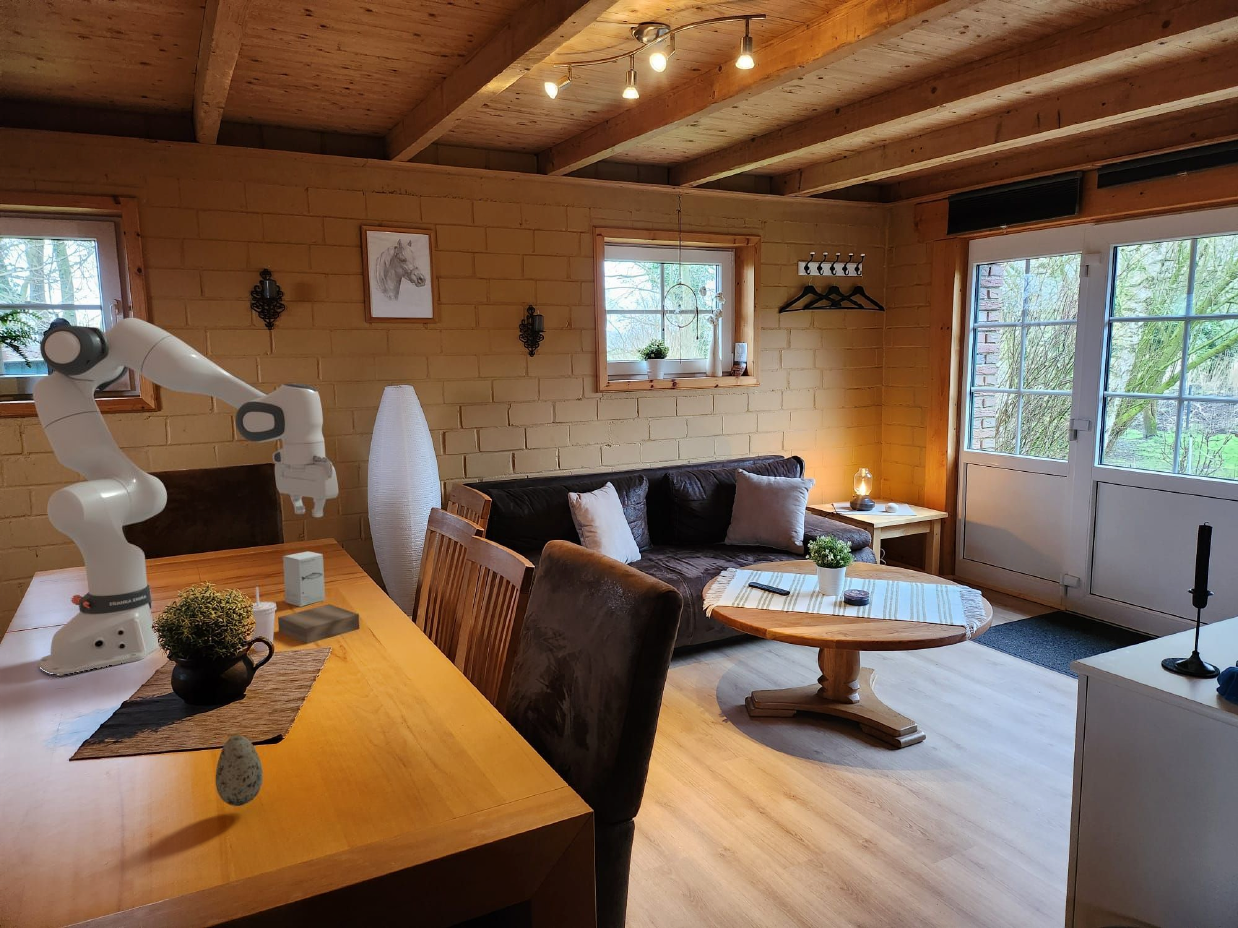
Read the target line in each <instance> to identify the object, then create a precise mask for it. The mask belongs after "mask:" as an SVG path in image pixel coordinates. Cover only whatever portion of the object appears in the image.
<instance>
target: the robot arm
mask: <svg viewBox="0 0 1238 928" xmlns="http://www.w3.org/2000/svg"><path fill="white" fill-rule="evenodd" d="M39 351H40V354H41V356H42V359H43V360H44V362H45V364H47V366H48V367H50V369H52V370H53V372H52V373H51V374H49V375H46V376H44V377H42V378H40V379H39V380H38V381H36V383H35V384H34V385H33V388H32V396H33V403H34V406H35V410H36V413H37V416H38V420H39V423H40V424H41V427H42V429H43V431H44V433H45V435H46V437H47V440H48V441H49V444H50V446H51V448H52V451H53V452H54V455H55V458H56V460H57V461H58V462H59V463H60V465H62V466H63V467H66V468H67V469H70V470H72V471H74V472H77V473H78V474H80V475H81V476H82V477H84V478H85V479H86V481H81V482H76V483H73V484H70V485H68V486H65V487H63V488H61V489H59V490H56V491H55V492H53V493H52V494H51V496H50V497H49V499H48V502H47V507H46V511H47V518H48V519H49V522H50V523H51V525H52V526H53V527H54V528H55V529H56V530H57V531H59V532H60V533H62V534H64V535H66V536H68V537H69V539H71V540H72V541H73V542H74V544H75V545H76V546H77V549H78V550H79V551H80V553H81V555H82V558H83V562H84V567H85V574H86V579H87V588H88V592H87V593H86V594H84V595H83V596H82V595H80V594H75V595H73V596H72V597H71V598H70V599H71V600H70V602H71V603H72V604H73V605H75V606H78V609H79V612H78V613H76V615H75V616H74V617H72V618H71V619H70V620H69V621H68V622H66V623H65V624H64V625H63V626H62V627H61V628H59V629H58V630H57V631H56V632H55V633H54V635H53V636H52V639H51V644H50V654H48V655H46V656H43V657H42V658H41V659H39V662H38V666H39V665H40V667H41V668H42V669H43V670H45V671H47V672H49V673H53V674H59V675H58V676H63V675H62V674H67V673H73V674H75V673H74V672H77V671H83V670H88V671H91V670H90V669H92V668H97V669H102V668H107V667H110V666H109V665H112V666H116V665H117V666H118V665H120V664H121V663H122V664H125V663H126V664H127V663H131V662H136V661H141V660H144V659H145V658H146V657H147V656H148V655H149V654H150V653H153V652H154V651H156V650H158V649H159V648H160V647H159V646H158V639H159V637H158V638H157V637H156V634H157V633H156V634H155V633H154V632H153V631H152V628H151V627H152V624H154V621H153V617H152V611H151V609H152V601H153V600H152V593H151V592H152V591H151V588H150V587H151V586H150V584H148V581H147V578H148V577H147V568H146V556H145V552H144V551H143V550H142V548H140V547H139V546H136V545H134V544H132V543H129V542H128V541H127V539H126V537H125V535H124V532H123V527H124V526H128V525H132V524H136V523H141V522H144V521H146V520H148V519H150V518H152V517H154V516H156V515H159V514H160V513H161V512H163V510H164V509H165V507H166V506H167V505H166V504H167V501H168V500H167V499H168V494H167V493H168V492H167V490H166V487H165V485H164V483H163V482H162V481H161V480H160V479H159V478H158V477H156V476H154V475H151V474H149V473H147V472H145V471H144V470H142V469H140V468H139V466H137V465H136V464H135V463H134V462H133V461H132V460H131V459H129V458H128V456H127V455H126V454H125V453H124V452H123V451H122V450H121V448H120V446H118V444H117V442H116V441H115V439H114V437H113V435H112V433H111V432H110V429H109V427H108V425H107V423H106V421H105V419H104V418H103V416H102V413H101V410H100V409H99V406H98V405H97V403H96V400H95V396H94V394H95V393H101V392H103V391H105V390H106V389H108V388H109V387H110V386H111V385H113V384H116V383H117V382H119V381H121V380H122V379H123V378H124V377H125V376H126V375H127V373H128V371H129V370H130V369H131V370H133V371H134V372H136V373H138V374H139V375H141V376H142V377H144V378H146V379H147V380H149V381H150V382H152V383H154V384H156V385H158V386H159V387H160V386H161V387H162V388H163V387H164V388H166V389H168V390H171V391H172V392H173V391H174V392H178V393H179V392H181V393H188V394H189V393H191V394H199V395H205V396H210V397H213V398H217V399H219V400H221V401H222V402H224V403H227V404H229V406H232V407H234V408H235V409H237V411H236V414H235V419H234V421H235V422H234V423H235V426H236V429H237V432H238V433H239V434H240V436H241V437H243V438H244V439H245V440H247V441H250V442H254V443H255V442H256V443H264V442H265V443H266V442H271V441H272V442H273V441H275V440H276V441H277V440H278V441H279V440H280V441H282V448H280V449H279V450H277V451H275V452H274V453H272V461H273V463H275V465H274V476H275V477H274V478H275V485H276V488H277V491H278V492H279V494H285V495H289V496H290V500H291V502H292V504H293V507H294V513H295V514H296V515H304V514H305V513H306V506H305V505H304V504H303V500H302V498H303V497H307V498H312V499H313V503H314V506H313V508H312V509H311V512H312V517H314V518H322V517H323V516H324V507H325V504H326V500H328V499H335V498H337V497H338V495H339V486H338V478H337V477H338V476H337V473H336V469H335V467H334V466H333V462H331V461H330V460H329V458H328V457H327V456H326V447H325V445H326V444H325V437H324V435H323V429H322V428H323V424H324V418H323V409H322V402H321V396H320V394H319V392H318V390H317V389H316V388H315V387H314V386H311V385H309V384H302V383H294V382H293V383H292V382H291V383H290V382H288V383H287V382H286V383H283V384H281V386H279V388H276V390H274V391H271V393H266V392H265V391H262V390H260V389H259V388H256V387H255V386H253V385H251V384H250V383H248V382H246V381H244V380H242V379H241V378H239V377H237V376H236V375H234V374H232V373H230V372H228V371H226V370H224V369H223V368H222V367H220V366H219V365H218V364H216V363H214V362H213V361H212V360H210V359H209V358H207V357H206V356H204V355H203V354H201V353H200V352H198V351H197V350H195V348H193V347H192V346H190V345H189V344H187V343H186V342H184V341H183V340H182V339H180V338H178V337H177V336H175V335H174V334H171V333H170V332H168V331H166V330H164V329H162V328H161V327H159V326H158V325H157V326H156V325H155V324H152V323H150V322H147V321H145V320H142V319H141V318H138V317H137V318H136V317H126V318H122V319H121V320H119V321H117V323H115V324H114V325H113V326H112V327H111V329H109V330H108V331H102V330H101V329H100V328H99V327H97V326H96V327H95V326H83V325H82V326H80V325H62V326H61V325H60V326H57V327H54V328H52V329H50V330H48V331H47V332H46V333H45V334H44V335H43V337H42V339H41V341H40V345H39ZM122 664H121V665H122ZM106 666H107V667H106ZM101 667H102V668H101ZM83 672H84V671H83Z"/></svg>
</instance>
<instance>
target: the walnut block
mask: <svg viewBox="0 0 1238 928" xmlns="http://www.w3.org/2000/svg"><path fill="white" fill-rule="evenodd" d="M277 623H278V624H277V625H278V632H279V634H282V635H285V636H286V637H290V638H292V639H295V640H297V641H299V642H301V643H304V644H305V645H306V644H307V645H308V644H312V643H315V642H319V641H322V640H326V639H329V638H330V639H331V638H333V637H337V636H340V635H343V634H347V633H348V634H349V633H350V632H354V631H357V630H360V629H361V628H360V614H359V613H356V612H353V611H350V610H347V609H345V608H341V607H339V606H335V605H333V604H330V603H329V604H325V605H321V606H316V607H313V608H310V609H305V610H302V611H297V612H294V613H289V614H286V615H282V616H278V617H277Z"/></svg>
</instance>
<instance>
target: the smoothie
mask: <svg viewBox="0 0 1238 928" xmlns="http://www.w3.org/2000/svg"><path fill="white" fill-rule="evenodd" d="M254 588H255V602H254V603H252V604H253V609H252V613H253V616H254V619H255V622H256V624H255V628H254V634H253V635H252V636H251V635H250V636H251V640H252V639H254V638H255V637H259V636H262V637H265V638H267V639H269V641H271V642H272V644H273V645H274V634H275V632H274V631H275V617H276V615H275V614H276V613H275V612H276V610H277V603H276V602H273V601H260V595H259V593H260V592H259V586H256V587H254ZM253 650H254V652H257V653H258V652H259V653H260V652H261V653H263V652H267V651H269V650H268V649H267V646H266V645H265V644H264V643H262V642H258V643H256V644H254V646H253Z"/></svg>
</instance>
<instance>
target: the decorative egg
mask: <svg viewBox="0 0 1238 928" xmlns="http://www.w3.org/2000/svg"><path fill="white" fill-rule="evenodd" d="M218 757H219V758H218V760H217V765H216V770H215V787H216V791H217V794H218V796H219V797H220V799H221V800H222V801H223V802H224V803H226V804H227V805H230V806H233V807H241V806H244V805H246V804H249V803H250V802H252V801H253V800H254V799H255V797H257V796H258V794H259V792H260V790H261V788H262V785H263V779H264V774H263V773H264V772H263V765H262V761H261V760H260V757H259V754H258V752H257V749H256V748H255V747H254V745H253V744H252V741H250V739H248V738H247V737H245V736H244V735H242V734H241V735H240V734H236V735H235V734H234V735H231V737H230V738H228V740H227V741H225V744H224V745H223V747H222V749H221V751H220V755H219V756H218Z"/></svg>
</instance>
